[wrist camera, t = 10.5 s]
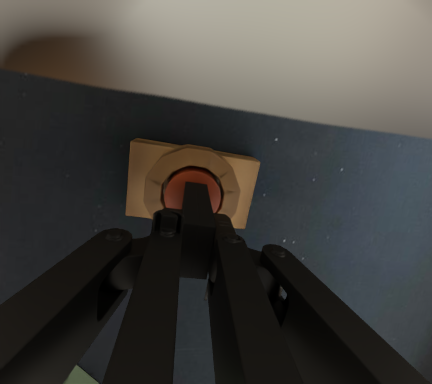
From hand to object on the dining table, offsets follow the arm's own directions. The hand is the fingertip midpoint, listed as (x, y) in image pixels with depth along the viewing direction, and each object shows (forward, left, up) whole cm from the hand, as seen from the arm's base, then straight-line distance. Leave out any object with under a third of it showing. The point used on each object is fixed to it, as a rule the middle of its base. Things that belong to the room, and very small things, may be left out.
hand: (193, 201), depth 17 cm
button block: (0, 0, -5) cm, 5 cm away
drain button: (0, 0, -2) cm, 2 cm away
